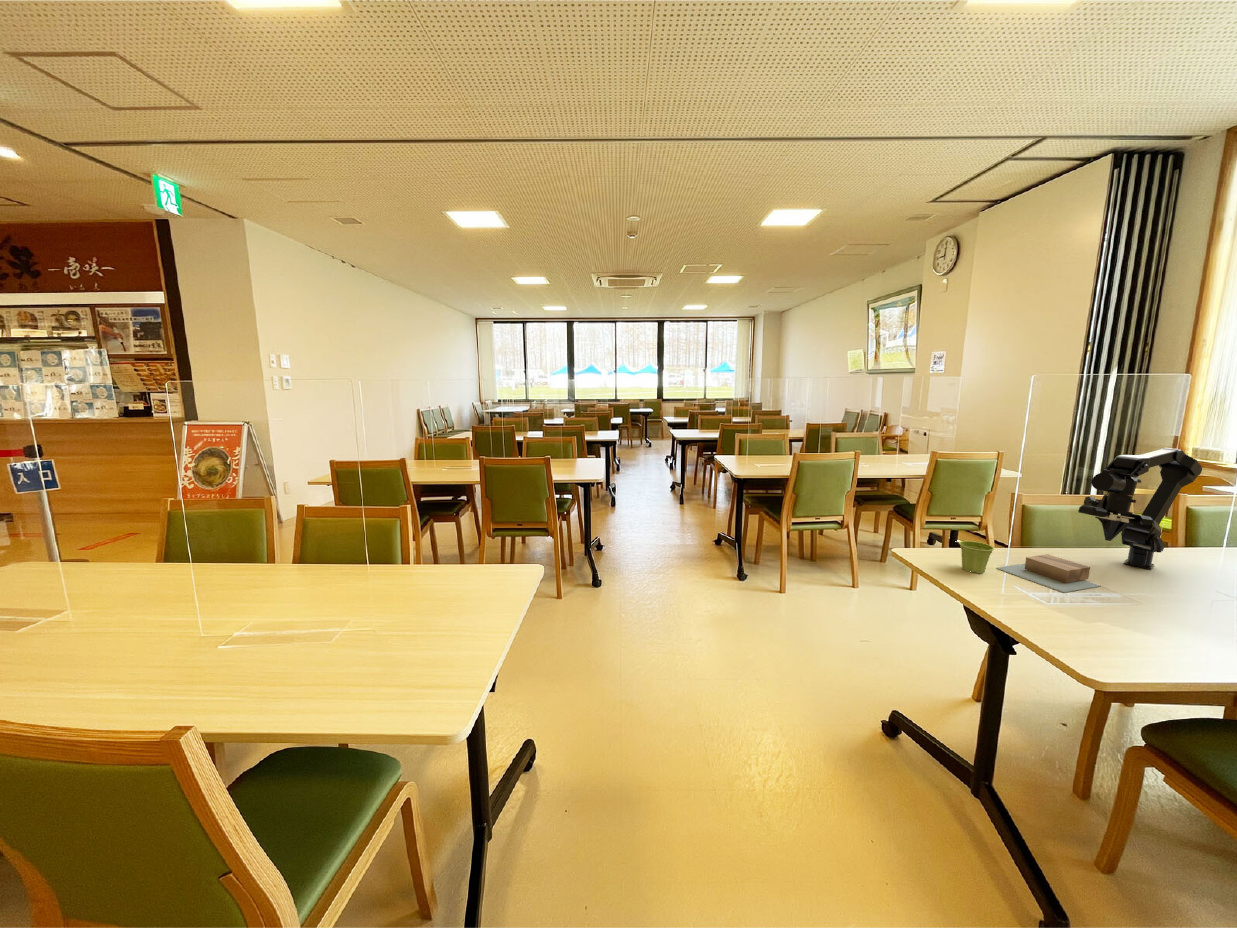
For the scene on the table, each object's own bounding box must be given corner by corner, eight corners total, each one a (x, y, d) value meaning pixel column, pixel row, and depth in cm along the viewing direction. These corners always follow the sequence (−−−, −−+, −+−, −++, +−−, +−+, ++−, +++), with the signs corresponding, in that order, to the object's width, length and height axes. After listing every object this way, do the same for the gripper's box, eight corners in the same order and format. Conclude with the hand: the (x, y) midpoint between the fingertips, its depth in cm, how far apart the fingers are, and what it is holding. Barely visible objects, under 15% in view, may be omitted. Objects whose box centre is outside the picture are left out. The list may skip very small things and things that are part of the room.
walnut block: (1047, 554, 165) (1026, 557, 162) (1090, 567, 154) (1067, 570, 151) (1046, 566, 166) (1024, 569, 163) (1088, 580, 155) (1065, 583, 152)
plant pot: (967, 563, 170) (970, 539, 168) (997, 573, 161) (1000, 547, 160) (949, 567, 166) (952, 542, 165) (979, 577, 158) (982, 551, 156)
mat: (1030, 563, 169) (1030, 562, 169) (1100, 586, 151) (1100, 585, 150) (996, 568, 165) (996, 567, 165) (1063, 592, 146) (1063, 592, 146)
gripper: (1126, 495, 167) (1113, 539, 169) (1070, 485, 168) (1058, 529, 169) (1160, 500, 156) (1146, 548, 158) (1100, 490, 157) (1087, 537, 158)
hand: (1107, 540), depth 161 cm, fingers closed
